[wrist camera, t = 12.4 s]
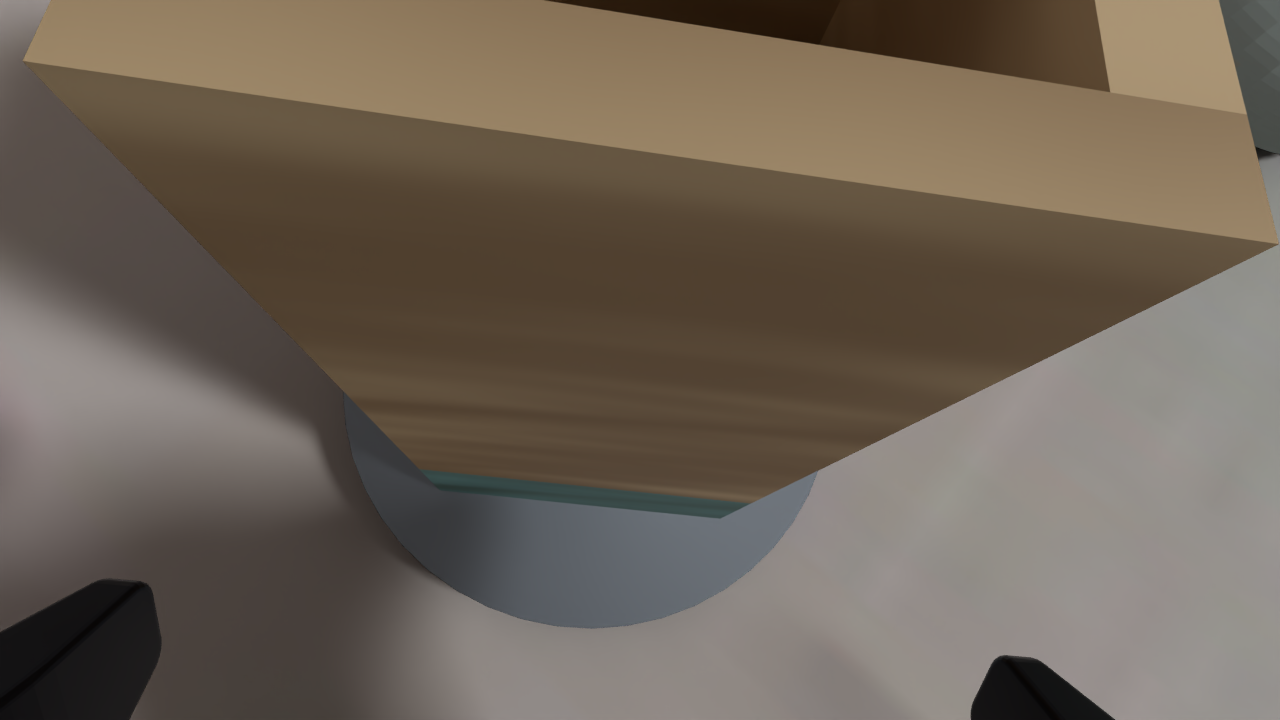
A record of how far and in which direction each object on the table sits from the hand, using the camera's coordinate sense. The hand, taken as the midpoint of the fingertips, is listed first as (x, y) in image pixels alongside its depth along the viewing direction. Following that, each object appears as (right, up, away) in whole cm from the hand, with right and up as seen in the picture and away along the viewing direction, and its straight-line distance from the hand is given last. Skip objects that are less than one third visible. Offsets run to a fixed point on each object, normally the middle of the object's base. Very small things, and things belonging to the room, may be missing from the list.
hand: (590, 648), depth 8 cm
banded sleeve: (0, +3, +8) cm, 9 cm away
